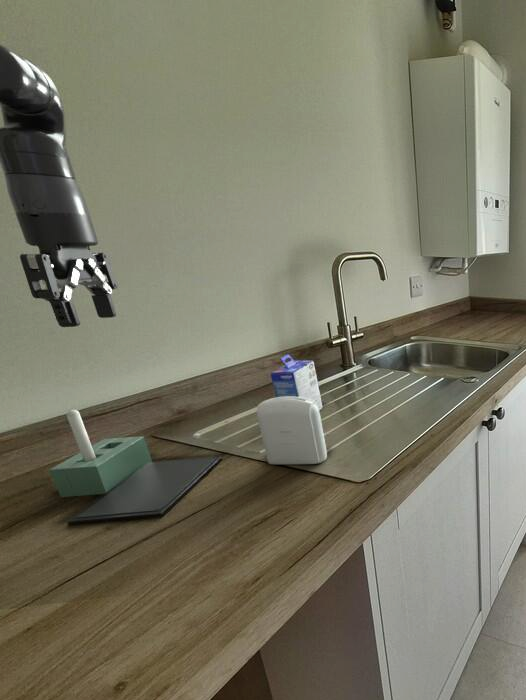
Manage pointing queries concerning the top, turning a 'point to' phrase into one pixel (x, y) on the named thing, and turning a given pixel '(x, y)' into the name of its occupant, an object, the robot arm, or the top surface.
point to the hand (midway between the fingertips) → (90, 321)
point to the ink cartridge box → (296, 380)
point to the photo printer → (291, 430)
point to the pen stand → (101, 467)
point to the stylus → (81, 435)
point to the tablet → (147, 491)
